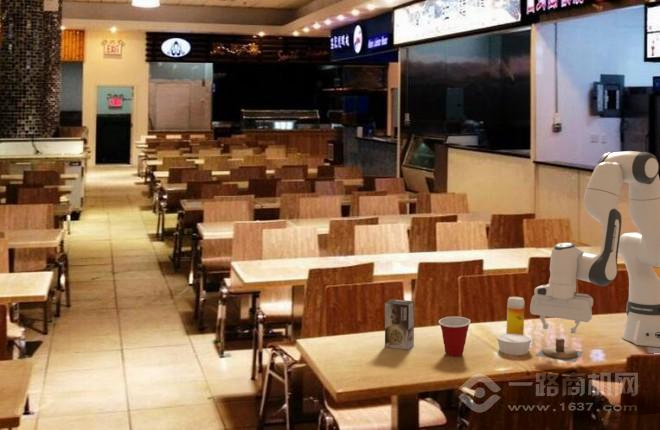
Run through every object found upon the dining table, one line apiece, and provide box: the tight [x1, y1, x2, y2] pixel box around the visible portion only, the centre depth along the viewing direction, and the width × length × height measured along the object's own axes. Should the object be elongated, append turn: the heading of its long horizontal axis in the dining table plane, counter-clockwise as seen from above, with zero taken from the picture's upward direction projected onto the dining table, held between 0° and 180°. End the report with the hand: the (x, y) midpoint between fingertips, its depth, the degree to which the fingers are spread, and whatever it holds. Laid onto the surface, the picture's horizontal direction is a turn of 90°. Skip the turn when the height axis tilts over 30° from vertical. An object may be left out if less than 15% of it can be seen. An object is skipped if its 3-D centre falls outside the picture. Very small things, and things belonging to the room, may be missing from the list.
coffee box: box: [384, 298, 415, 350], centre depth 270 cm, size 9×6×16 cm
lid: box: [541, 337, 578, 360], centre depth 262 cm, size 12×12×5 cm
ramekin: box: [497, 333, 532, 356], centre depth 265 cm, size 11×11×5 cm
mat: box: [535, 345, 584, 363], centre depth 262 cm, size 13×13×1 cm
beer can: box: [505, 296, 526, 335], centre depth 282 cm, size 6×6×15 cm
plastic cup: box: [438, 316, 471, 357], centre depth 262 cm, size 11×11×12 cm
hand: (559, 330), depth 261 cm, fingers open, 8 cm apart
